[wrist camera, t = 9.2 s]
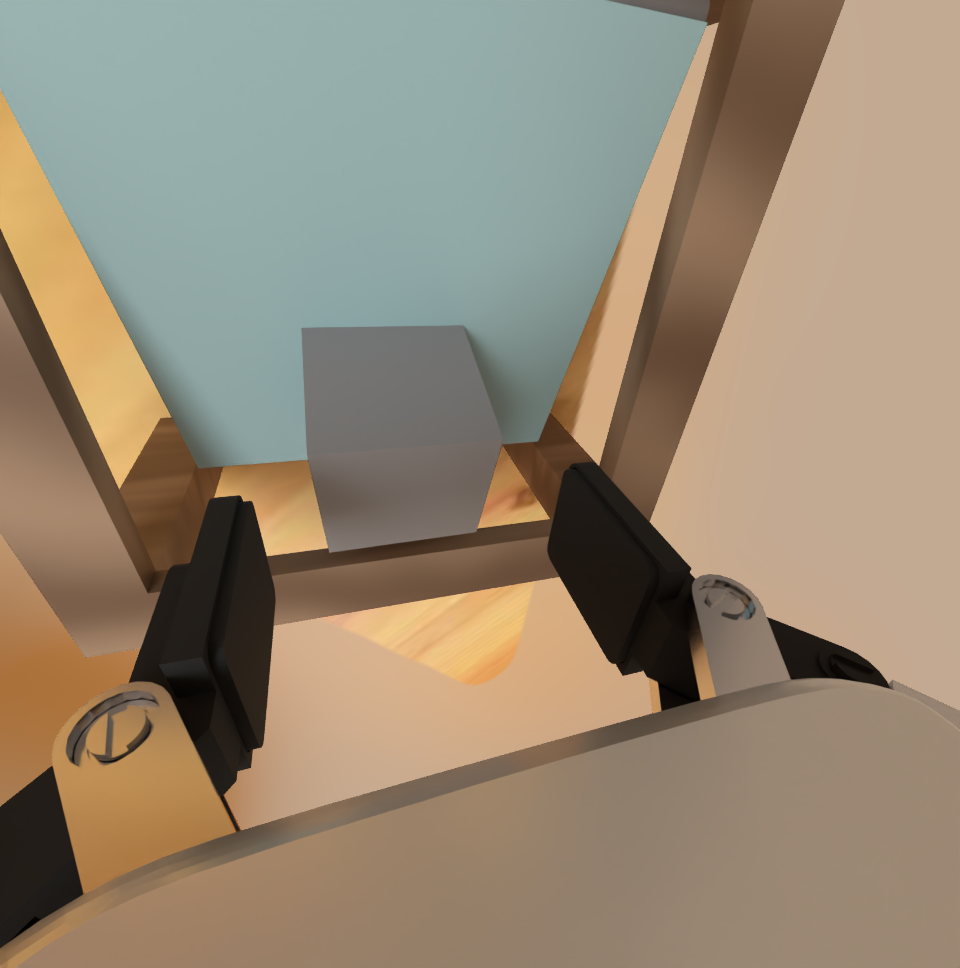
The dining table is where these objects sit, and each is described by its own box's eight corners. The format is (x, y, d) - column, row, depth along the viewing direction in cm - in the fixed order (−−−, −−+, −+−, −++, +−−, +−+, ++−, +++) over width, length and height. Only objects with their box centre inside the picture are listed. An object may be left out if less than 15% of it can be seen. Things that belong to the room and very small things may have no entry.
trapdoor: (-122, -212, 6) (-159, -215, 6) (694, -13, 10) (718, -3, 10) (200, 448, 18) (198, 468, 17) (531, 425, 22) (538, 441, 21)
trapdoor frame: (-49, -172, 13) (-1163, -1169, 3) (605, -20, 19) (921, -206, 9) (175, 460, 25) (85, 657, 15) (532, 433, 31) (633, 564, 21)
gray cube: (301, 327, 14) (306, 455, 11) (462, 324, 15) (503, 439, 12) (321, 438, 18) (329, 552, 15) (448, 428, 19) (476, 532, 16)
